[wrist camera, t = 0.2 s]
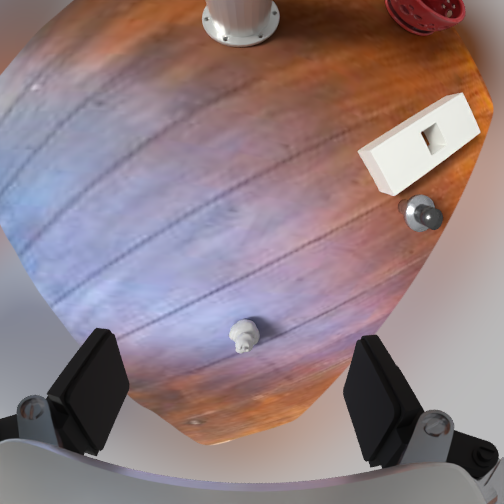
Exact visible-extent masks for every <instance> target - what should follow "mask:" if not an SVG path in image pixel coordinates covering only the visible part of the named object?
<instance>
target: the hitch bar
mask: <svg viewBox="0 0 504 504" xmlns="http://www.w3.org/2000/svg"><path fill="white" fill-rule="evenodd" d="M422 131H423V132H424V134H425V136H426V138H427V140H428V142H429V144H430V145H429V146H427V145H426V143H425V141H424V139H423V137H422V135H421V132H422ZM479 133H480V130H479V127H478V125H477V123H476V120H475V118H474V116H473V114H472V111H471V109H470V107H469V105H468V103H467V101H466V99H465V97H464V95H463V93H458V94H453V95H448V96H445V97H443V98H442V99H440V100H438V101H437V102H435V103H433V104H432V105H430V106H428V107H427V108H425V109H423V110H422V111H420V112H419V113H417V114H415V115H414V116H412V117H410V118H409V119H407V120H406V121H404V122H402V123H401V124H399V125H397V126H396V127H394V128H393V129H391V130H389V131H388V132H386V133H385V134H383V135H382V136H380V137H378V138H377V139H375V140H374V141H372V142H370V143H369V144H367V145H366V146H364V147H363V148H361V149H360V150H358V153H359V155H360V156H361V158H362V160H363V162H364V163H365V165H366V167H367V169H368V170H369V172H370V174H371V176H372V178H373V179H374V181H375V183H376V185H377V187H378V189H379V191H380V192H383V193H386V194H389V195H392V196H395V195H397V194H398V193H400V192H401V191H402V190H404V189H405V188H407V187H408V186H409V185H411V184H412V183H414V182H415V181H416V180H418V179H419V178H421V177H422V176H423V175H425V174H426V173H427V172H429V171H430V170H431V169H433V168H434V167H436V166H437V165H438V164H440V163H441V162H442V161H444V160H445V159H446V158H448V157H449V156H450V155H452V154H453V153H454V152H456V151H457V150H458V149H460V148H461V147H462V146H464V145H465V144H466V143H467V142H469V141H470V140H471V139H473V138H474V137H475V136H477V135H478V134H479Z"/></svg>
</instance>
